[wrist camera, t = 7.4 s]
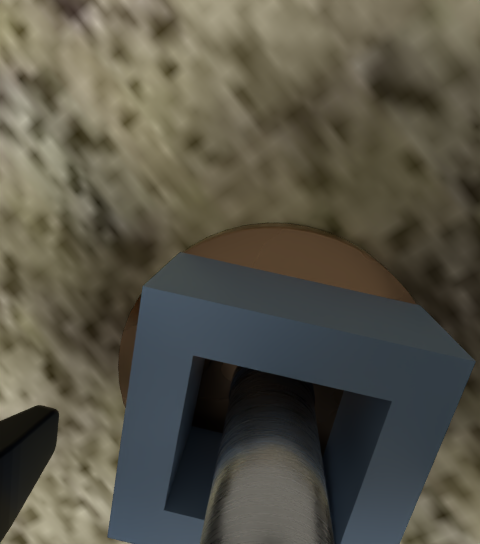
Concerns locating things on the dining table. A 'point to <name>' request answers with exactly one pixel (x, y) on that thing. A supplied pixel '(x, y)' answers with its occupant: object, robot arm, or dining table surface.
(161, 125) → the dining table surface
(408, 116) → the dining table surface
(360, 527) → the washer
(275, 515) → the post
